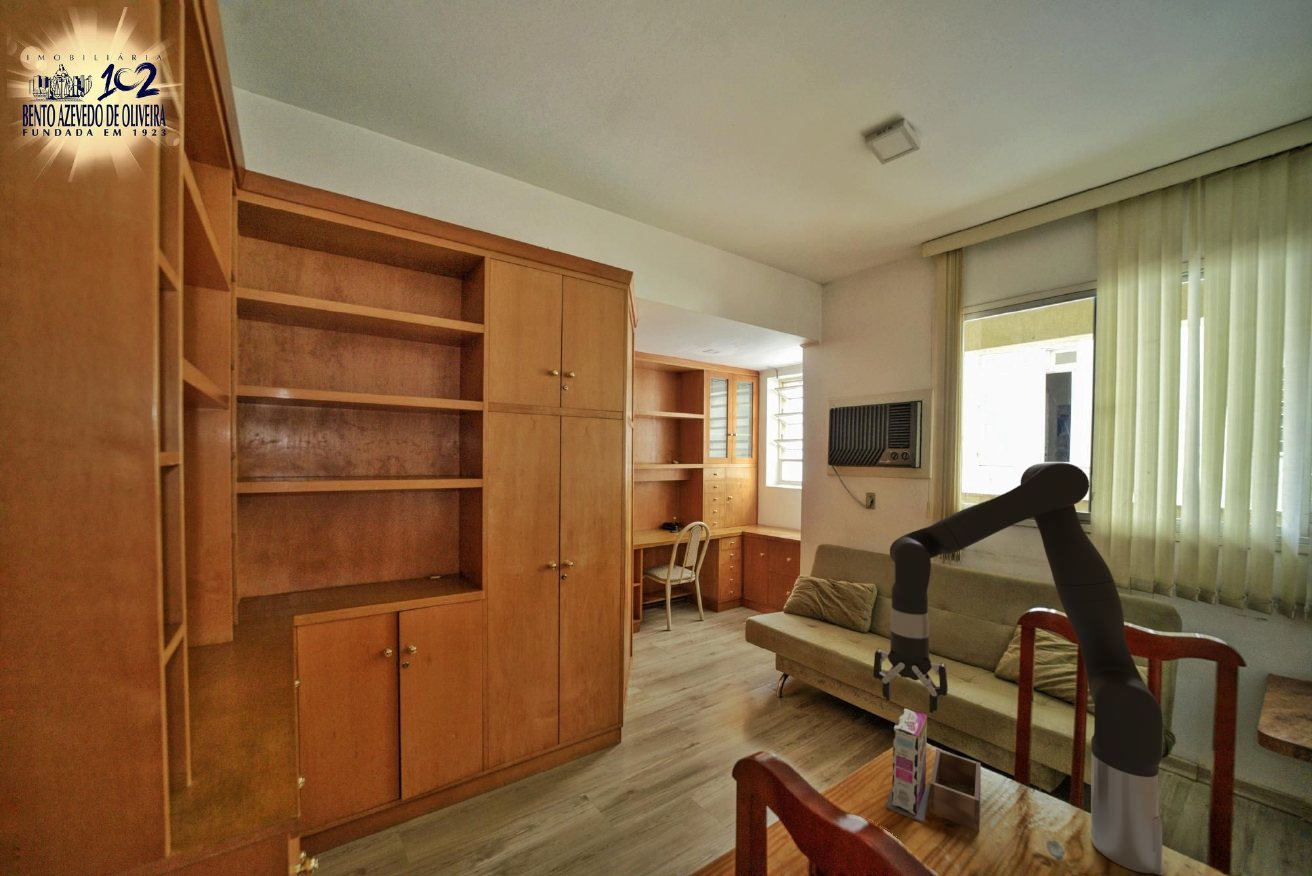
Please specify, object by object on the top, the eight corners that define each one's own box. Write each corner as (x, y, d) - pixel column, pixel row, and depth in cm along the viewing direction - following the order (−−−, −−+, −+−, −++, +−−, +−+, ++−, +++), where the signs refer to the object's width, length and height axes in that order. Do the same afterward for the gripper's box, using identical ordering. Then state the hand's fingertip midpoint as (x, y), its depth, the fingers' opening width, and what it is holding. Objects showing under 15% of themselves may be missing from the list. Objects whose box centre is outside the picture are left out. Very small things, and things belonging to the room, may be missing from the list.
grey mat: (929, 789, 108) (929, 788, 108) (923, 823, 98) (923, 821, 98) (895, 777, 112) (895, 775, 112) (886, 808, 102) (886, 806, 102)
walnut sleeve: (980, 790, 108) (980, 763, 109) (979, 831, 96) (979, 801, 97) (936, 774, 113) (936, 748, 114) (929, 812, 101) (930, 783, 102)
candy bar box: (917, 817, 99) (918, 736, 100) (891, 806, 102) (892, 727, 103) (927, 788, 108) (928, 714, 108) (902, 778, 111) (903, 706, 112)
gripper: (948, 632, 105) (948, 708, 105) (877, 618, 113) (877, 689, 113) (945, 643, 99) (946, 724, 99) (871, 628, 107) (870, 702, 107)
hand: (909, 705), depth 106 cm, fingers open, 8 cm apart
